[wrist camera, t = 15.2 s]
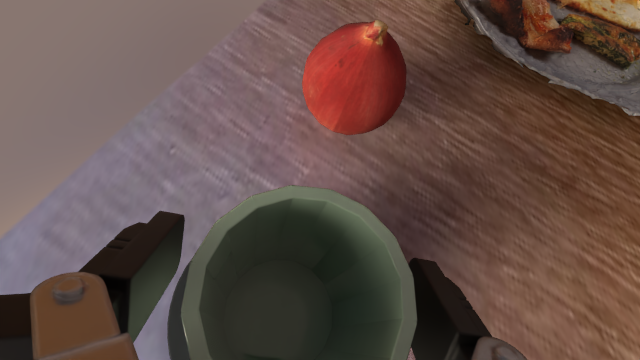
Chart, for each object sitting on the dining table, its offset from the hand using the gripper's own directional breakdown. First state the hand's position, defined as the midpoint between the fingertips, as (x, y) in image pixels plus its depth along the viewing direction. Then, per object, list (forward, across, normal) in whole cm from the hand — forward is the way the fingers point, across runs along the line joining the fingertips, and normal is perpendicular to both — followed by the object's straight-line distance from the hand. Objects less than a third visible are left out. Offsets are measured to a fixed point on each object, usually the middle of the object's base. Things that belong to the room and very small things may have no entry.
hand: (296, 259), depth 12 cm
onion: (+12, -2, -3) cm, 13 cm away
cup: (+3, 0, +5) cm, 6 cm away
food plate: (+25, -22, -16) cm, 37 cm away
